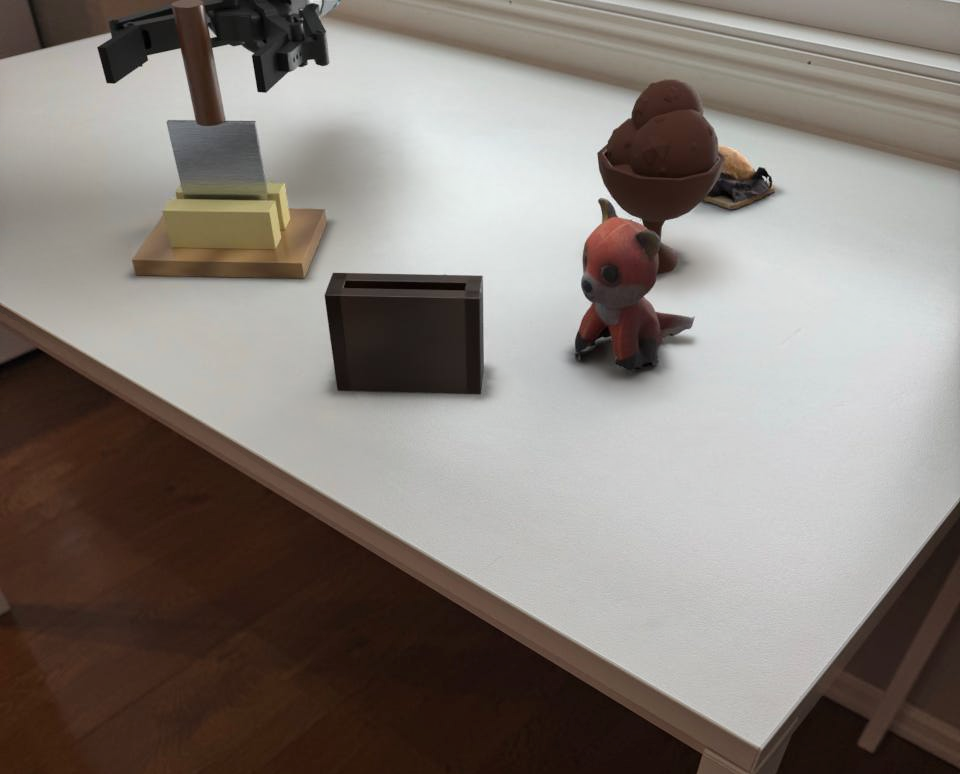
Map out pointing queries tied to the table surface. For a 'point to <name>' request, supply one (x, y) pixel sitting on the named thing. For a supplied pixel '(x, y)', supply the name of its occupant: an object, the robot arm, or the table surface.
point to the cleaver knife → (211, 124)
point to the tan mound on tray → (738, 182)
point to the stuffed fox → (624, 292)
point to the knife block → (406, 332)
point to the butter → (227, 221)
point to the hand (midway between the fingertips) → (181, 70)
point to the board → (236, 253)
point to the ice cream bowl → (662, 159)
